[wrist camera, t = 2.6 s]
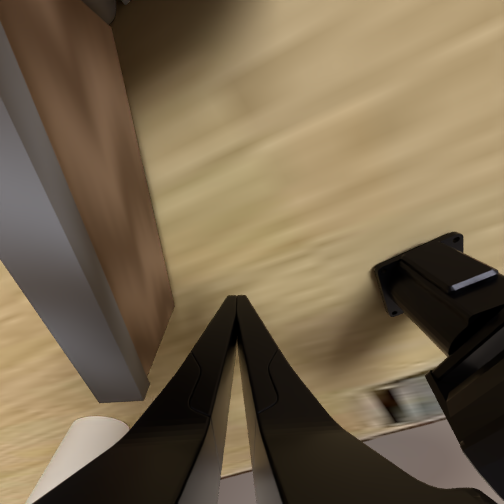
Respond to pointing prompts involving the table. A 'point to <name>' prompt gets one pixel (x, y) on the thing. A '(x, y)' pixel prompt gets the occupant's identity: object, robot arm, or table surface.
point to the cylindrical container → (78, 450)
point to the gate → (78, 196)
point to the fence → (104, 8)
